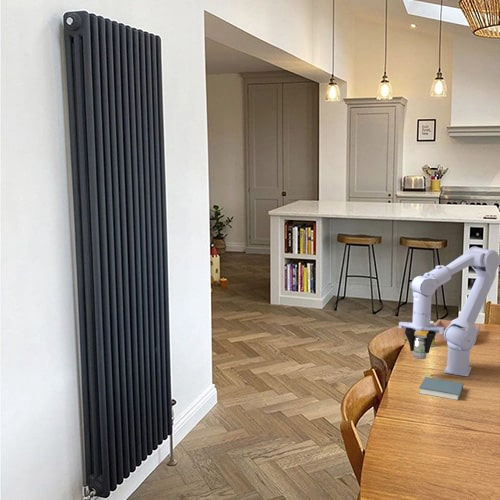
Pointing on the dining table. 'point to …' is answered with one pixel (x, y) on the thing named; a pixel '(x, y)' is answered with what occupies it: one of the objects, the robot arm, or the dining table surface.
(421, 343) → the tea tin
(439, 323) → the open box
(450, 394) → the hardcover book
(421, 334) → the supplement bottle
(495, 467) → the dining table surface
